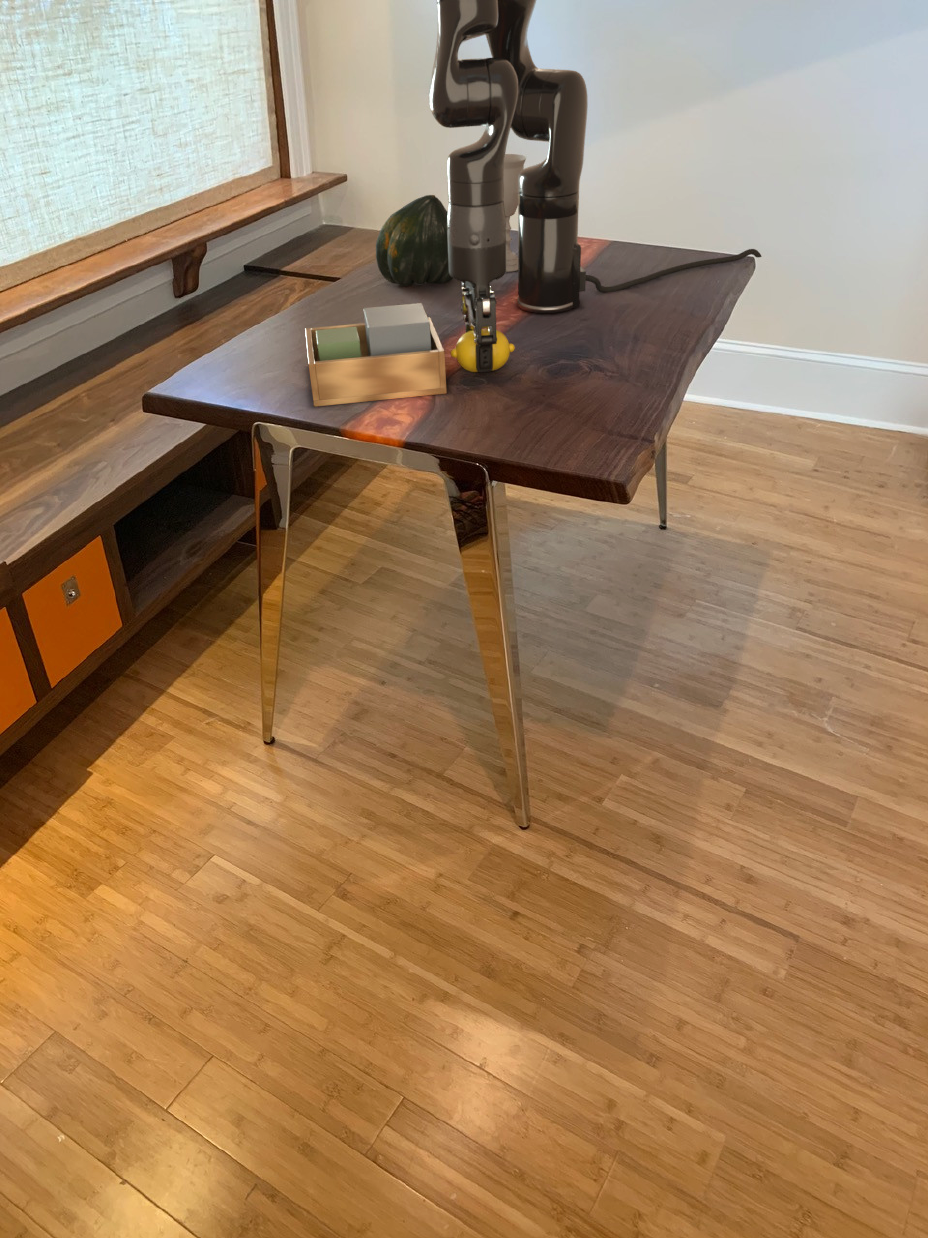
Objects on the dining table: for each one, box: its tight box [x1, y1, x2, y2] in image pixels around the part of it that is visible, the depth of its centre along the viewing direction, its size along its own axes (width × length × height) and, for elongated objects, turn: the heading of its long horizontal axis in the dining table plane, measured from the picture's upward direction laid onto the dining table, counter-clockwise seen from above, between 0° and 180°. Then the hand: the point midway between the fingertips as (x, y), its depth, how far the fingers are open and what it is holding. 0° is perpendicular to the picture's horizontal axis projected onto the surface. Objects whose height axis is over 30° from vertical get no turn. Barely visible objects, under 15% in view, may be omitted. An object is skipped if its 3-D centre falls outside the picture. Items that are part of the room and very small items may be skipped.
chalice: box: [503, 153, 527, 273], centre depth 166 cm, size 7×7×18 cm
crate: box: [304, 316, 447, 408], centre depth 129 cm, size 18×14×6 cm
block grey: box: [363, 302, 431, 356], centre depth 128 cm, size 8×8×8 cm
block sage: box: [316, 327, 361, 361], centre depth 128 cm, size 6×6×6 cm
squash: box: [375, 194, 454, 287], centre depth 162 cm, size 14×15×15 cm
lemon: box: [449, 328, 516, 373], centre depth 131 cm, size 9×6×6 cm, turn 99°
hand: (479, 359), depth 132 cm, fingers open, 8 cm apart
